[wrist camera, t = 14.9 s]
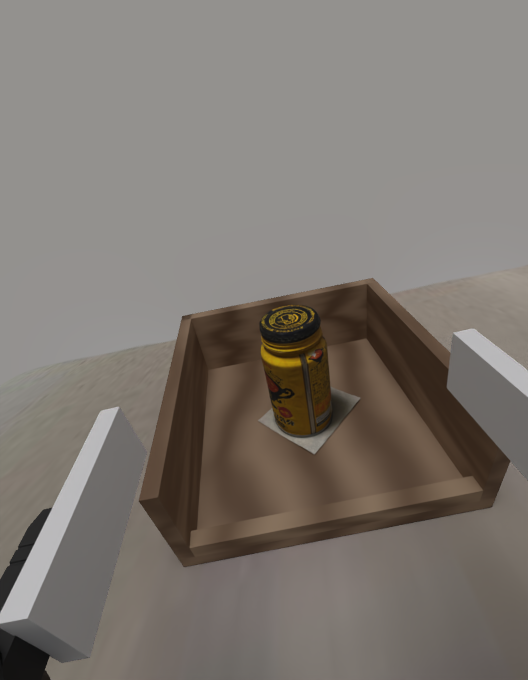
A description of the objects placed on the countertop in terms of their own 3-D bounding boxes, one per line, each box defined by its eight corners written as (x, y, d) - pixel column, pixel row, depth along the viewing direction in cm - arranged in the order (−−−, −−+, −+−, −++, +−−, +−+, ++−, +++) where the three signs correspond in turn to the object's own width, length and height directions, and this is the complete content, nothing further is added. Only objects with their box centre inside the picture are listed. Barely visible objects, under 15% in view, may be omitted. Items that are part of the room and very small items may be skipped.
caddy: (371, 339, 45) (372, 278, 40) (491, 506, 25) (524, 425, 20) (202, 373, 45) (182, 316, 40) (184, 566, 25) (138, 501, 20)
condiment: (257, 421, 34) (232, 326, 28) (305, 376, 39) (293, 285, 32) (314, 456, 30) (301, 350, 23) (360, 400, 34) (360, 299, 28)
